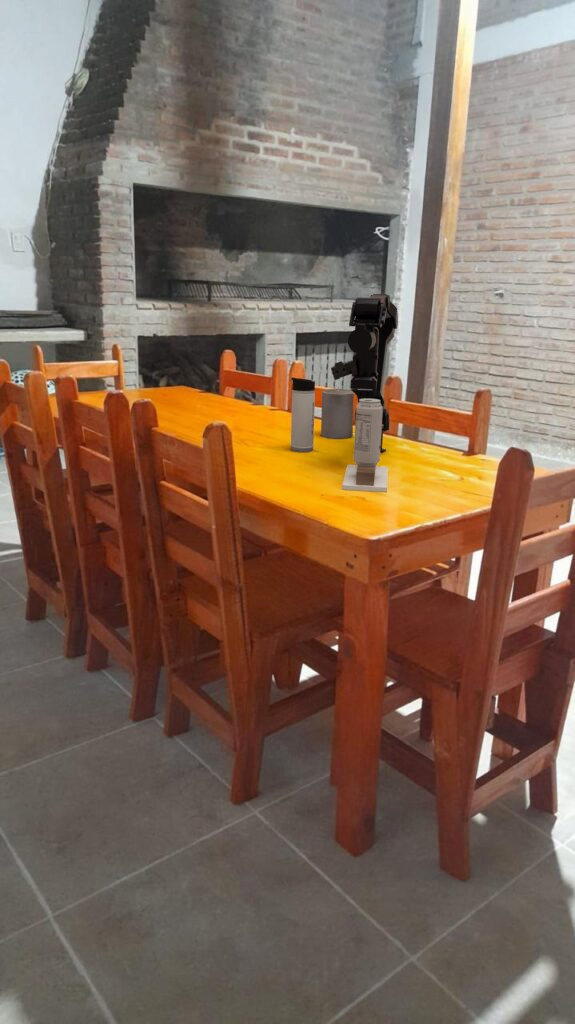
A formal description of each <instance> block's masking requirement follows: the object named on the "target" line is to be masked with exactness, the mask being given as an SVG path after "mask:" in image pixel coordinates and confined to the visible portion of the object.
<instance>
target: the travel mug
mask: <svg viewBox="0 0 575 1024" xmlns="http://www.w3.org/2000/svg"><path fill="white" fill-rule="evenodd" d="M290 378H291V379H290V381H291V382H292V387H291V419H290V420H291V422H290V423H291V425H290V426H291V427H290V429H291V430H290V450H291V451H292V452H295V453H296V452H297V453H309V452H313V451H314V441H315V440H314V435H315V434H314V433H315V430H314V429H315V405H316V404H315V403H316V393H315V392H316V381H315V380H311V379H306V378H299V377H298V378H297V377H290Z"/></svg>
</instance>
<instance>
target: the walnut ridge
mask: <svg viewBox="0 0 575 1024" xmlns="http://www.w3.org/2000/svg"><path fill="white" fill-rule="evenodd" d="M375 469H376V466H373V467H363V466H358V467H357V473H356V485H368V486H374V479H375Z"/></svg>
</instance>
